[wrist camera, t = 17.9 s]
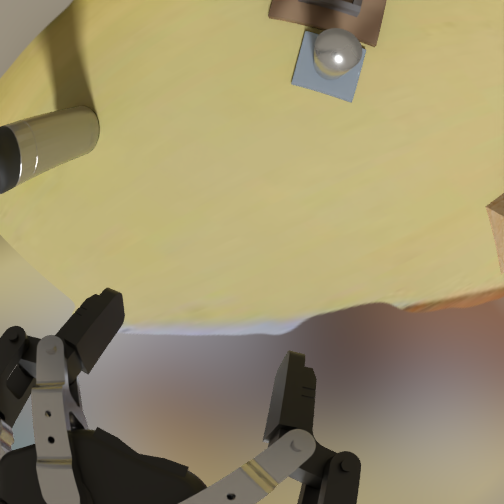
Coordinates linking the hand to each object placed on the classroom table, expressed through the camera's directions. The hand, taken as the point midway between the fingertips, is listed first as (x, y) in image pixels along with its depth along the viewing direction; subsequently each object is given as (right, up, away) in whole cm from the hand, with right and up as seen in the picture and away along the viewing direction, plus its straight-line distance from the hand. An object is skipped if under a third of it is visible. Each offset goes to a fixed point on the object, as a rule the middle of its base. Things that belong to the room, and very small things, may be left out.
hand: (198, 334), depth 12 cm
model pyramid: (+51, +10, +19) cm, 55 cm away
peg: (+12, +27, +16) cm, 34 cm away
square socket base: (+13, +38, +10) cm, 41 cm away
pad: (+12, +27, +17) cm, 34 cm away
